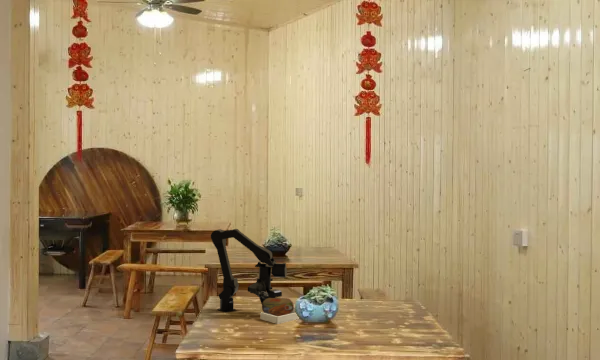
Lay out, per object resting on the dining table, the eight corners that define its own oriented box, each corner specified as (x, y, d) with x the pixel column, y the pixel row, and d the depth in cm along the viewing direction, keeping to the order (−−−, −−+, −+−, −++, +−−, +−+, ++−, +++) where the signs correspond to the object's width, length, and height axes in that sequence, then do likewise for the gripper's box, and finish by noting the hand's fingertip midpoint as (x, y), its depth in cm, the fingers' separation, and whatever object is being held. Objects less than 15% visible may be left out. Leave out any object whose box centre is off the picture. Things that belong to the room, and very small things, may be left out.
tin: (261, 315, 273) (261, 297, 273) (263, 313, 276) (263, 295, 276) (293, 317, 271) (293, 299, 270) (294, 315, 274) (294, 297, 273)
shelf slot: (260, 319, 266) (260, 312, 266) (291, 312, 280) (291, 306, 280) (277, 324, 258) (277, 317, 258) (308, 316, 272) (308, 310, 272)
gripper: (239, 275, 279) (238, 307, 279) (265, 281, 266) (264, 315, 266) (256, 273, 287) (255, 304, 287) (283, 278, 274) (282, 311, 274)
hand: (264, 308), depth 279 cm, fingers closed
